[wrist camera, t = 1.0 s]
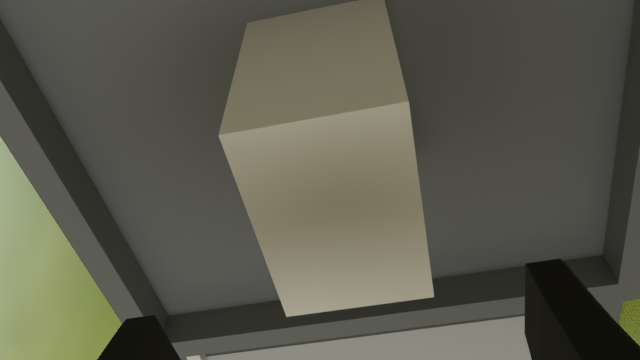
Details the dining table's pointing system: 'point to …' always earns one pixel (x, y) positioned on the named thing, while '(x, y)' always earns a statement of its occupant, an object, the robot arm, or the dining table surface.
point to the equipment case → (430, 147)
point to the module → (328, 159)
